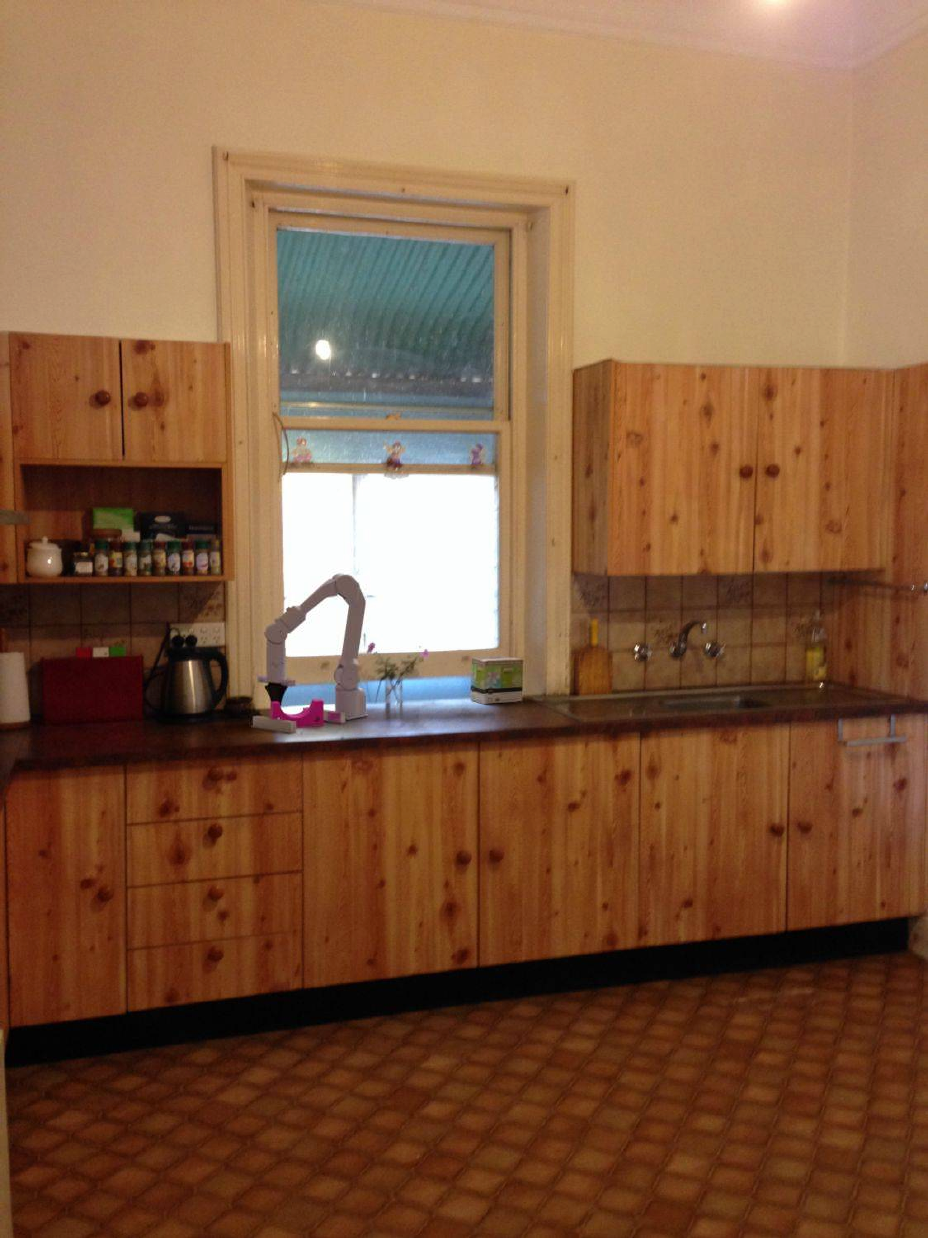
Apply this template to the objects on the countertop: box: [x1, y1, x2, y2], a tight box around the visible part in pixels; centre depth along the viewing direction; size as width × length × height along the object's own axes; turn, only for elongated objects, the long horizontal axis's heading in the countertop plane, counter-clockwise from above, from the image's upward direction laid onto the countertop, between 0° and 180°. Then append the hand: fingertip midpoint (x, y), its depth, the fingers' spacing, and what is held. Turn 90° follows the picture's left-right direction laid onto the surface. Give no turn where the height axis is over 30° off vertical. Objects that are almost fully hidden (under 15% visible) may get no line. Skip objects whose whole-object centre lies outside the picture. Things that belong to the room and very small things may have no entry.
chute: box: [250, 706, 348, 734], centre depth 321 cm, size 24×16×3 cm
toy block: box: [269, 698, 325, 728], centre depth 320 cm, size 15×6×8 cm, turn 111°
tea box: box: [470, 656, 524, 705], centre depth 366 cm, size 15×10×15 cm, turn 119°
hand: (276, 708), depth 327 cm, fingers closed
